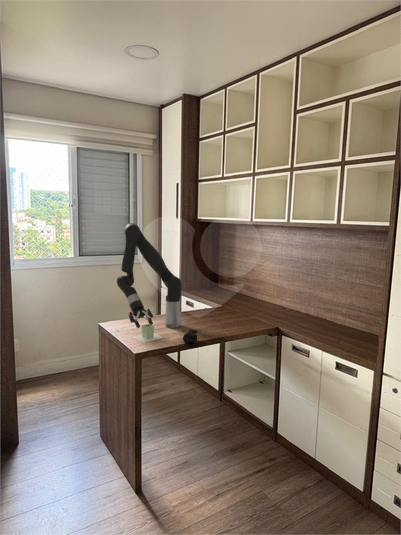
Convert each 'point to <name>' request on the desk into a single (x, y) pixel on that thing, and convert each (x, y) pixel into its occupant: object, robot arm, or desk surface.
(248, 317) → the desk surface
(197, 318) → the desk surface
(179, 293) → the robot arm
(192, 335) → the end cap
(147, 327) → the sleeve
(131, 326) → the mat
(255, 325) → the desk surface
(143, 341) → the peg stand
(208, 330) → the desk surface
